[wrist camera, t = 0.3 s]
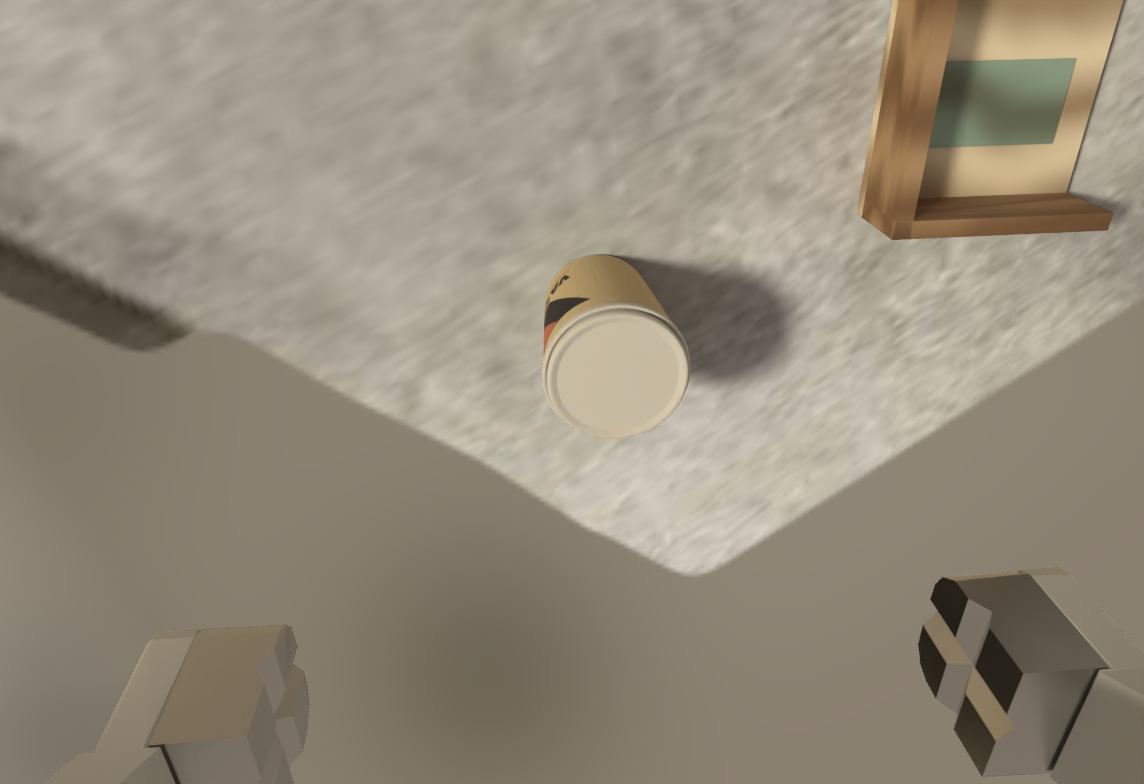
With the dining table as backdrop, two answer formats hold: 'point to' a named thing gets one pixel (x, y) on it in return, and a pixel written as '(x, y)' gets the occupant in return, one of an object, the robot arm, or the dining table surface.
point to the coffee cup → (610, 350)
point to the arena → (984, 117)
